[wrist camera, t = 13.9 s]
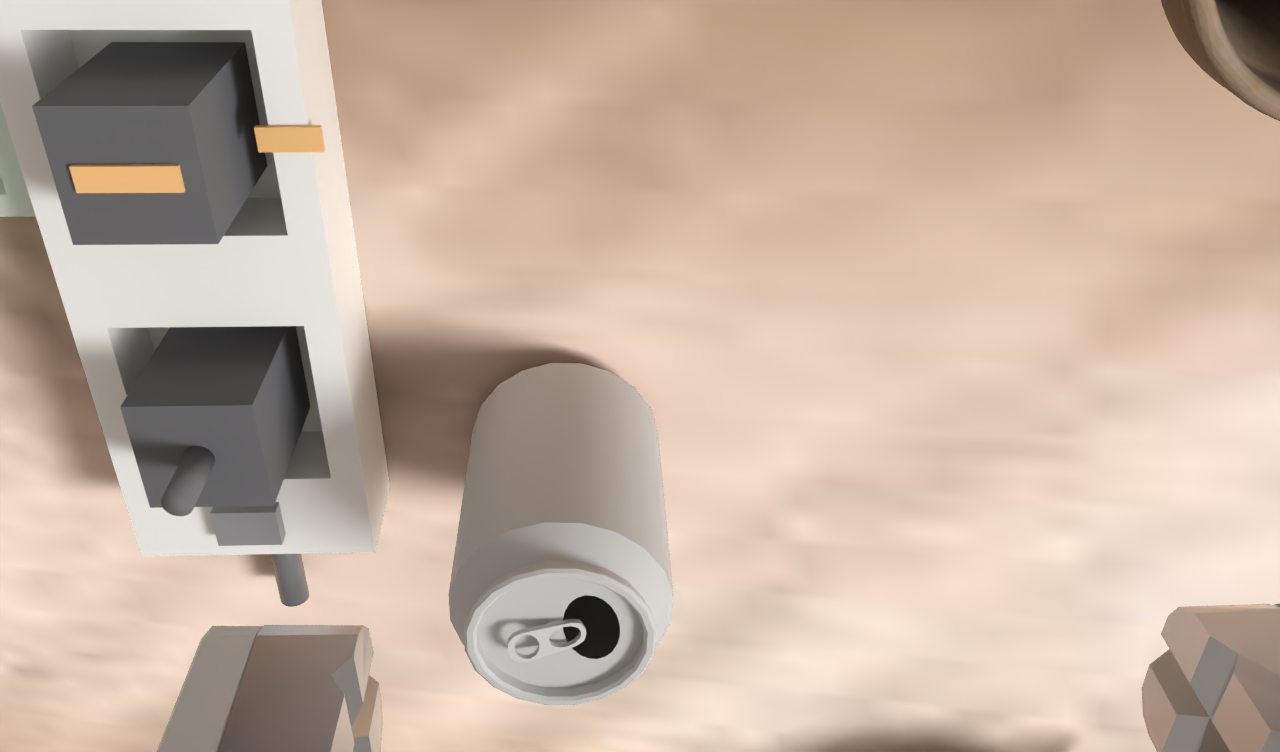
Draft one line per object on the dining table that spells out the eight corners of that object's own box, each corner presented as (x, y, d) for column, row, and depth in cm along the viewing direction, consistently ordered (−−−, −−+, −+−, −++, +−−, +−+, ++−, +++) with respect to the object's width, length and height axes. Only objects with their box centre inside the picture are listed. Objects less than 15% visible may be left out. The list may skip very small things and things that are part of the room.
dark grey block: (111, 42, 35) (29, 107, 30) (245, 42, 35) (186, 107, 30) (142, 166, 37) (70, 247, 32) (267, 166, 38) (216, 246, 32)
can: (665, 488, 47) (687, 711, 37) (492, 507, 47) (467, 735, 37) (647, 339, 43) (665, 546, 33) (457, 361, 43) (419, 573, 33)
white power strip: (0, -132, 33) (-77, -105, 29) (316, -130, 34) (281, -102, 30) (198, 579, 49) (165, 657, 45) (411, 575, 49) (396, 653, 45)
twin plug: (177, 314, 41) (92, 451, 34) (293, 313, 41) (232, 449, 34) (201, 408, 43) (125, 555, 36) (310, 406, 43) (256, 552, 36)
